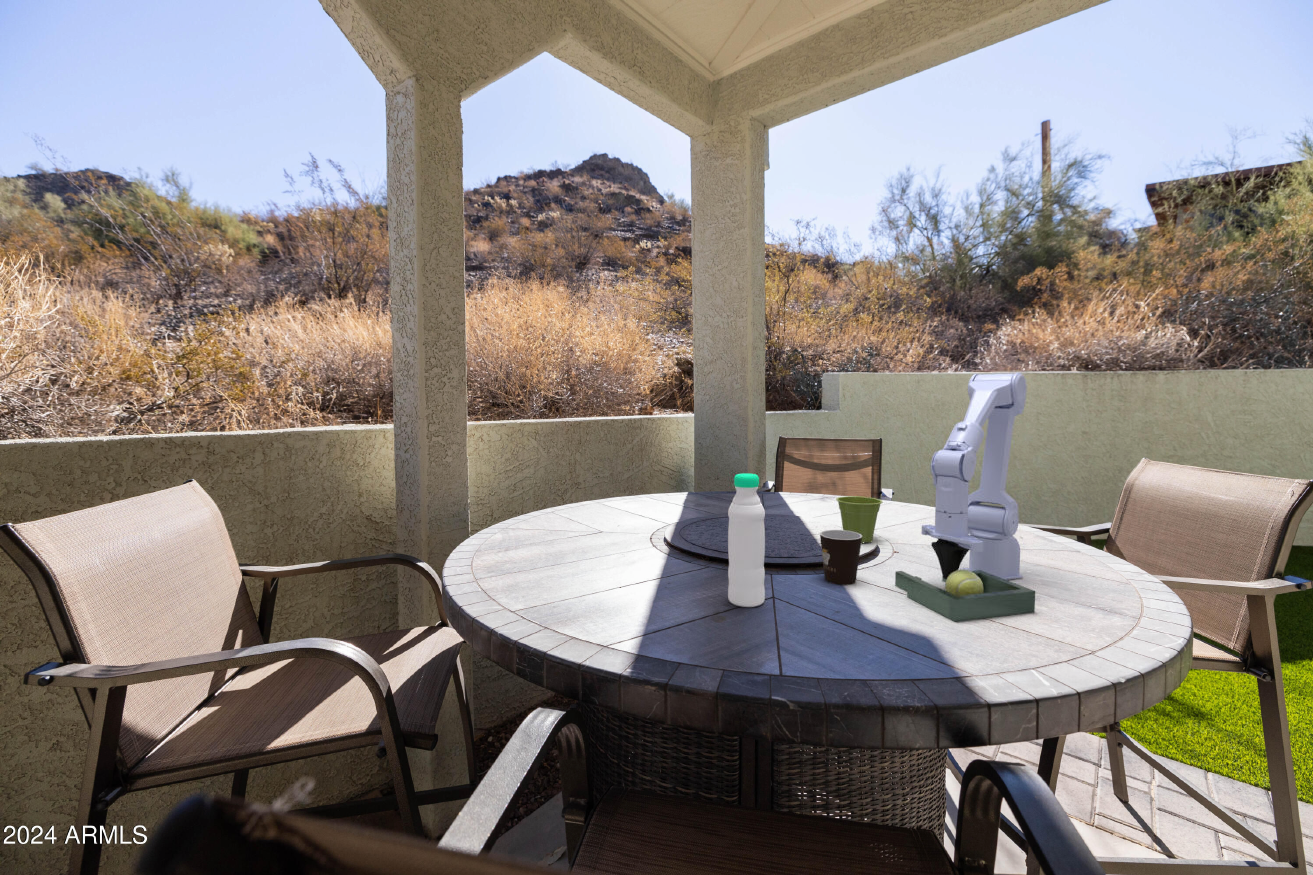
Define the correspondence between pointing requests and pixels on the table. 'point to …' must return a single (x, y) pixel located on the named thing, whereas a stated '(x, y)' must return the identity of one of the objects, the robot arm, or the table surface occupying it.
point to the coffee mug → (840, 555)
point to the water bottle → (746, 544)
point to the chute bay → (970, 597)
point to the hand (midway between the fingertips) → (949, 578)
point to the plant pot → (859, 515)
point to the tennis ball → (963, 583)
